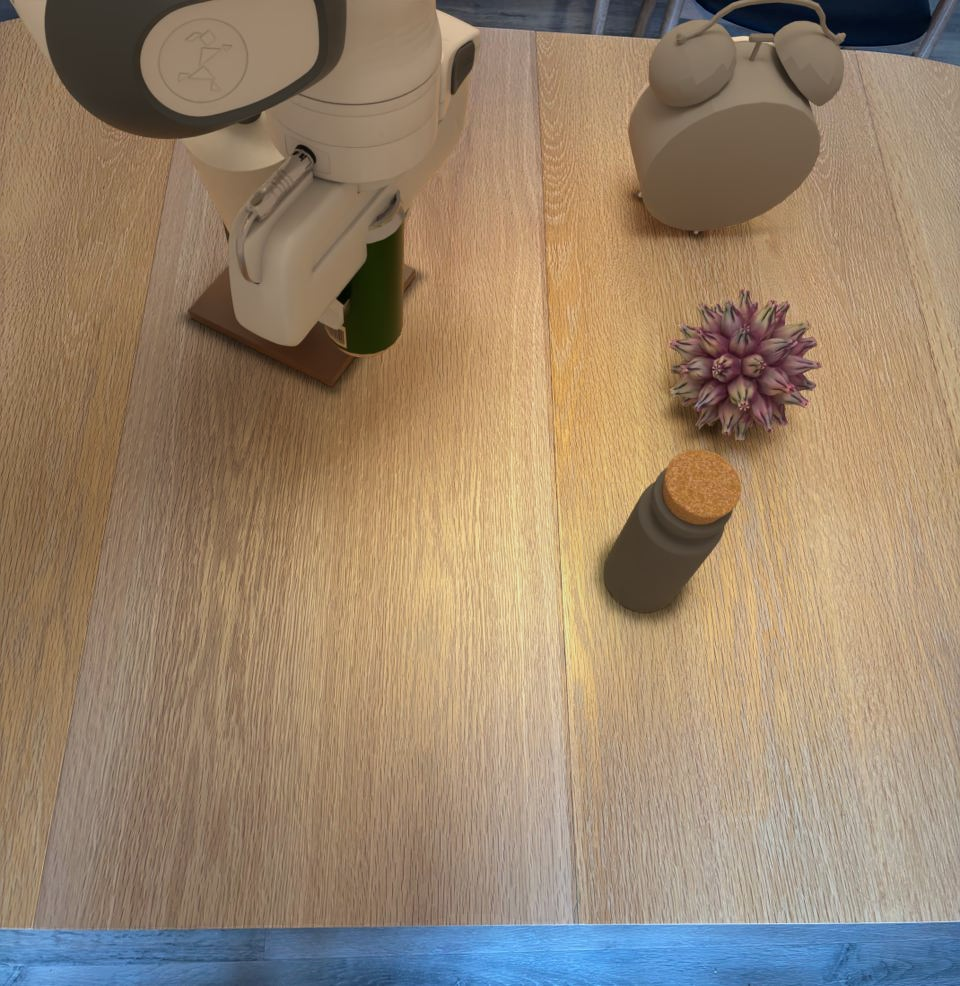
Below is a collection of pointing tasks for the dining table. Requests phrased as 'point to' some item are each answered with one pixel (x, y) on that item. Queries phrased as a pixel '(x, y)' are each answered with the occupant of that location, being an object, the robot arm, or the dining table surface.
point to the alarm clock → (731, 118)
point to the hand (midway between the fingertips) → (361, 283)
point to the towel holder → (234, 163)
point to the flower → (743, 365)
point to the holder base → (307, 357)
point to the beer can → (376, 289)
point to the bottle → (672, 530)
